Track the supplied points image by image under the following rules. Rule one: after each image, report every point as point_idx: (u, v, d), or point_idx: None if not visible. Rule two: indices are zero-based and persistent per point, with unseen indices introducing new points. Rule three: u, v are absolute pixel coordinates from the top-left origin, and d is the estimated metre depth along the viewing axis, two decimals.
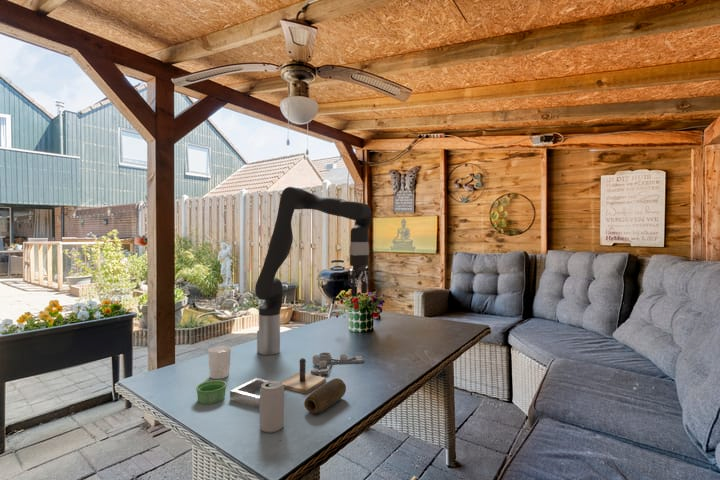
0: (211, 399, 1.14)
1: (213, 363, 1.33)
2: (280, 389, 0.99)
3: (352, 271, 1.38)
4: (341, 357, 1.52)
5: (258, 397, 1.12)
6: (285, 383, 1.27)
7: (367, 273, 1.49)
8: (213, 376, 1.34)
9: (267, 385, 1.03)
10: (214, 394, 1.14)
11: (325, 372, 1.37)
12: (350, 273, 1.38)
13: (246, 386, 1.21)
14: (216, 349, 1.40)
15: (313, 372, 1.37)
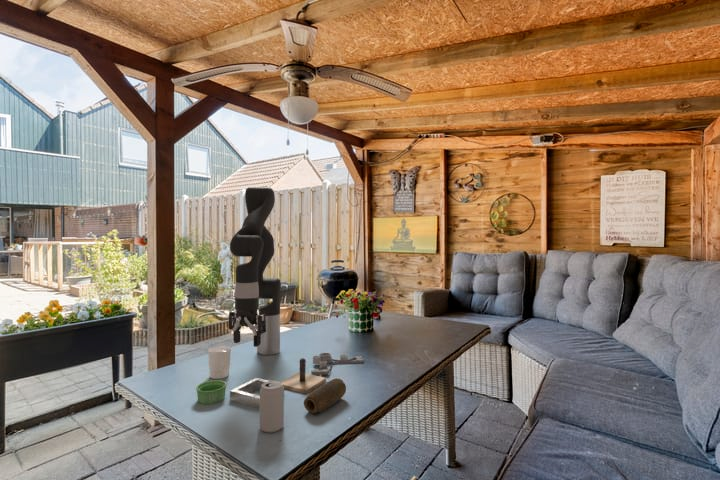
0: (211, 399, 1.14)
1: (213, 363, 1.33)
2: (280, 389, 0.99)
3: (264, 316, 1.19)
4: (341, 357, 1.52)
5: (258, 397, 1.12)
6: (285, 383, 1.27)
7: (235, 318, 1.25)
8: (213, 376, 1.34)
9: (267, 385, 1.03)
10: (214, 394, 1.14)
11: (326, 372, 1.37)
12: (262, 319, 1.18)
13: (246, 386, 1.21)
14: (216, 349, 1.40)
15: (314, 372, 1.37)
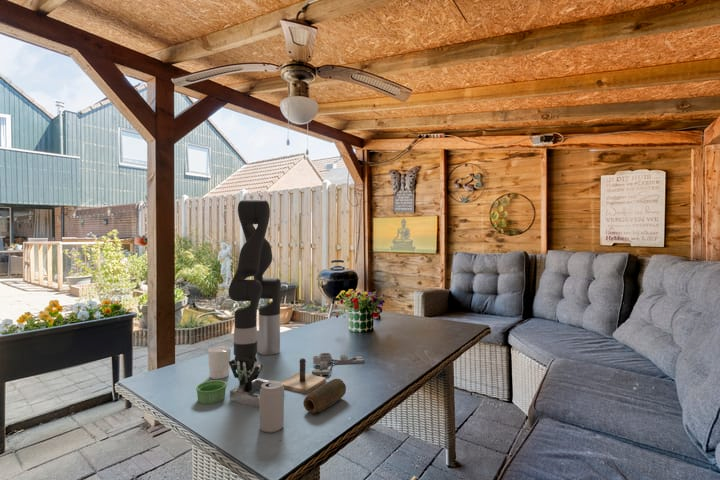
0: (211, 399, 1.14)
1: (213, 363, 1.33)
2: (280, 389, 0.99)
3: (261, 368, 1.19)
4: (341, 357, 1.52)
5: (258, 397, 1.12)
6: (285, 383, 1.27)
7: None
8: (213, 376, 1.34)
9: (267, 385, 1.03)
10: (214, 394, 1.14)
11: (326, 373, 1.37)
12: (258, 370, 1.19)
13: None
14: (216, 349, 1.40)
15: (314, 373, 1.37)
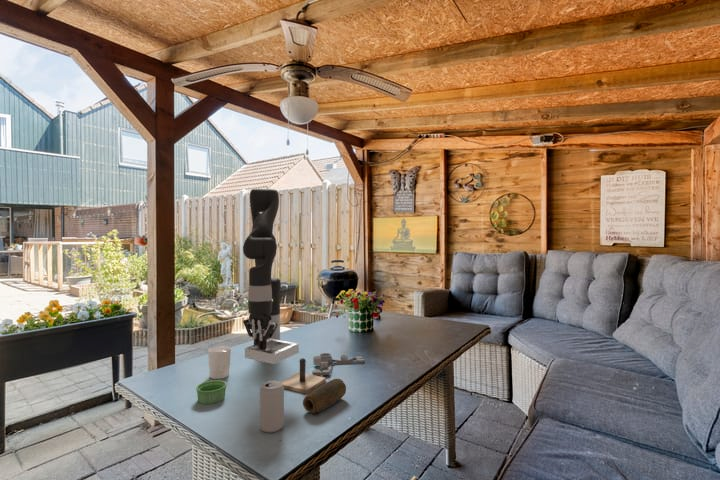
0: (211, 399, 1.14)
1: (213, 363, 1.33)
2: (280, 389, 0.99)
3: (276, 326, 1.18)
4: (342, 357, 1.52)
5: (274, 353, 1.11)
6: (285, 383, 1.27)
7: (252, 325, 1.23)
8: (213, 376, 1.34)
9: (267, 385, 1.03)
10: (214, 394, 1.14)
11: (327, 373, 1.36)
12: (273, 328, 1.18)
13: None
14: (216, 349, 1.40)
15: (315, 373, 1.36)
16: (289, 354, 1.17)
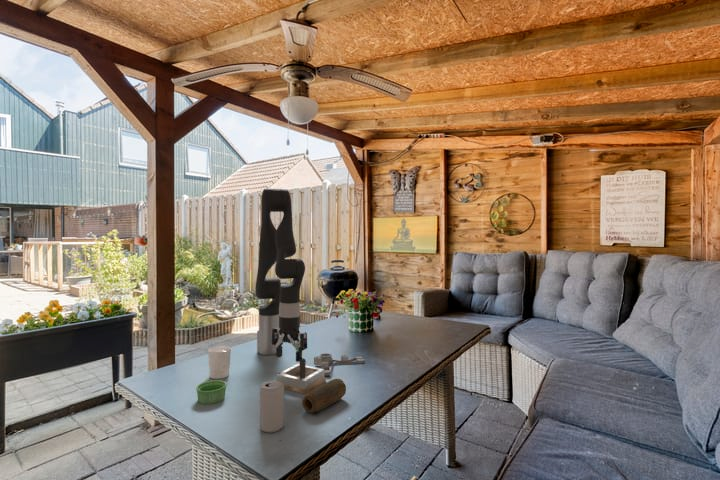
0: (211, 399, 1.14)
1: (213, 363, 1.33)
2: (280, 389, 0.99)
3: (305, 334, 1.30)
4: (342, 358, 1.52)
5: (304, 379, 1.23)
6: None
7: (278, 334, 1.35)
8: (213, 376, 1.34)
9: (267, 385, 1.03)
10: (214, 394, 1.14)
11: (328, 373, 1.36)
12: (304, 337, 1.29)
13: (290, 371, 1.32)
14: (216, 349, 1.40)
15: None
16: (317, 379, 1.28)
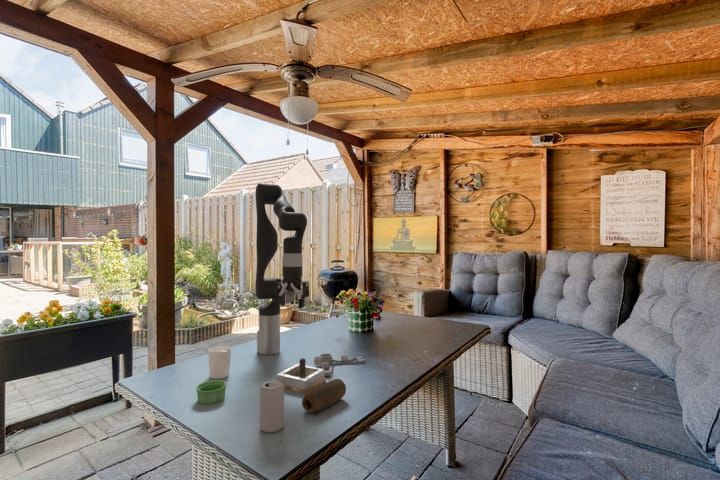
0: (211, 399, 1.14)
1: (213, 363, 1.33)
2: (280, 389, 0.99)
3: (307, 282, 1.38)
4: (342, 358, 1.51)
5: (304, 379, 1.23)
6: None
7: (281, 284, 1.44)
8: (213, 376, 1.34)
9: (267, 385, 1.03)
10: (214, 394, 1.14)
11: (328, 373, 1.36)
12: (306, 285, 1.37)
13: (290, 371, 1.32)
14: (216, 349, 1.40)
15: None
16: (317, 379, 1.28)
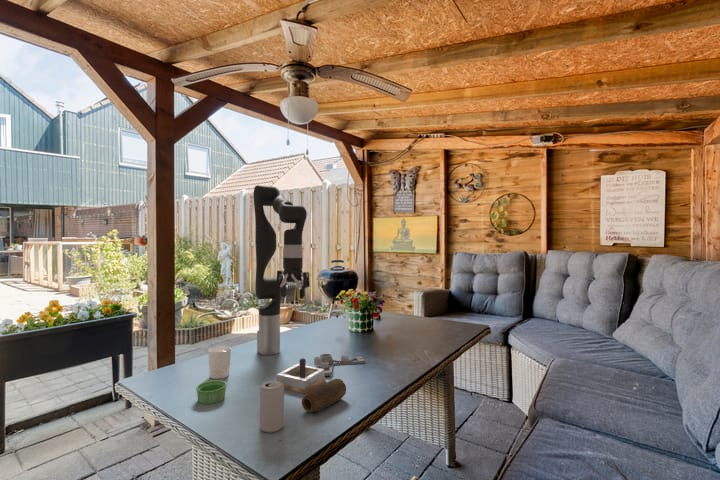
0: (211, 399, 1.14)
1: (213, 363, 1.33)
2: (280, 389, 0.99)
3: (308, 273, 1.41)
4: (342, 358, 1.51)
5: (304, 379, 1.23)
6: None
7: (282, 276, 1.47)
8: (213, 376, 1.34)
9: (267, 385, 1.03)
10: (214, 394, 1.14)
11: (329, 373, 1.36)
12: (307, 275, 1.40)
13: (290, 371, 1.32)
14: (216, 349, 1.40)
15: None
16: (317, 379, 1.28)
